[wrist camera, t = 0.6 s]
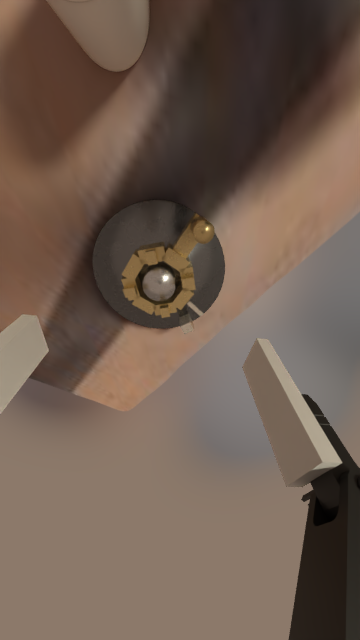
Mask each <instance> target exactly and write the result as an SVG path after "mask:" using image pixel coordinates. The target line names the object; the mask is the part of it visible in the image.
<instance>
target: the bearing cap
mask: <svg viewBox="0 0 360 640" xmlns="http://www.w3.org/2000/svg"><path fill="white" fill-rule="evenodd" d="M194 213H195V212H194V211H193V210H191V209H189V208H187V207H186V206H184V205H181V204H179V203H176V202H172V201H167V200H147V201H142V202H139V203H135V204H133V205H130V206H128V207H126V208H124V209H122V210H121V211H119V212H118V213H116V214H115V215H114V216H113V217H112V218H111V219H110V220H109V221H108V222H107V223H106V224H105V226H104V227H103V228H102V230H101V232H100V234H99V235H98V238H97V240H96V243H95V247H94V252H93V272H94V276H95V280H96V283H97V286H98V288H99V290H100V292H101V294H102V296H103V297H104V298H105V300H106V301H107V302H108V304H109V305H110V306H111V307H112V308H113V309H114V310H115V311H116V312H117V313H119V314H120V315H121V316H123V317H124V318H126V319H128V320H129V321H132V322H134V323H136V324H139V325H142V326H146V327H150V328H173V327H178V326H180V328H181V329H182V331H183V332H184V334H187V333H189V332H191V331H194V325H193V320H195V319H197V318H198V317H200V316H202V315H203V314H204V313H205V312H206V311H207V310H208V309H209V308H210V307H211V305H212V304H213V303H214V301H215V300H216V298H217V297H218V294H219V292H220V290H221V287H222V284H223V280H224V274H225V262H224V255H223V251H222V247H221V245H220V242H219V240H218V238H217V236H216V234H215V233H214V236H213V238H212V240H211V241H210V242H208V243H206V244H201V243H197V244H196V245H195V247H194V248H193V250H192V251H191V252H190V254H189V255H188V257H189V260H190V261H191V263H192V266H193V274H194V281H195V289H196V290H194V295H193V296H192V297H191V298H190V300H189V301H188V302H187V303H186V304H185V306H184V307H183V308H182V309H181V310H180V309H178V308H177V312H175V313H170V317H165V318H162V316H161V315H157V316H156V315H155V311H154V312H153V313H152V315H151V314H149V313H147V312H145V311H143V310H142V309H140V308H138V307H136V306H134V305H132V302H133V300H130V301H129V300H128V297H127V298H125V295H124V292H123V288H124V286H123V283H122V281H121V279H122V277H123V275H121V274H122V273H123V271H124V269H125V267H126V266H127V264H128V262H129V260H130V259H131V257H132V255H133V253H134V252H135V250H136V249H139V247H140V246H142V245H147V244H153V243H158V242H164V243H165V248H166V247H167V245H168V244H169V243H170V244H172V245H173V244H174V243H175V241H176V240H177V238H178V237H179V235H180V234H181V232H182V231H183V229H184V228H185V226H186V225H187V223H188V222H189V220H190V219H191V217H192V216H193V214H194ZM138 276H139V279H140V283H141V286H142V289H143V291H144V293H145V294H146V295H147V296H148V297H149V298H150V299H152V300H156V301H164V300H167V299H168V298H170V297H171V296H172V295H173V293H174V292H175V290H176V289H177V288H178V286H179V285H180V284H181V276H180V272H179V271H178V270H176V269H175V268H173V267H172V266H170V265H169V264H167V263H166V262H165V261H160V262H158V264H154V265H148V264H144V265H143V267H142V269H141V270H140V272H139V273H138Z"/></svg>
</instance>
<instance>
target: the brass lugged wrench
mask: <svg viewBox="0 0 360 640" xmlns="http://www.w3.org/2000/svg"><path fill="white" fill-rule="evenodd" d="M213 236H214V227H213V225H212V224H211V223H210V222H209V221H207V220H206V219H205V218H204V217H202V216H199V215H198V214H197V213H196V212H195V213H194V214H193V216H192V217H191V219H190V220H189V222H188V223H187V225H186V226H185V228H184V229H183V231H182V232H181V234H180V235H179V237H178V238H177V240H176V241H175V243H174V244H173V245H172V244H170V243H169V244H168V245H167V247H166V248H165V243H164V242H158V243H153V244H147V245H142V246H140V247H139V249H136V250H135V252H134V253H133V255H132V257H131V259H130V260H129V262H128V264H127V266H126V267H125V269H124V271H123V273H122V274H121V275H123V277H122V279H121V281H122V283H123V286H124V288H123V292H124V295H125V298H127V297H128V300H129V301H130V300H133V302H132V305H134V306H136V307H138V308H140V309H142V310H143V311H145V312H147V313H149V314H151V315H152V313H153V312H154V311H155V315H156V316H157V315H161V316H162V318H165V317H170V313H175V312H177V308H178V309H180V310H181V309H182V308H183V307H184V306H185V304H186V303H187V302H188V301H189V300H190V298H191V297H192V296H193V295H194V290H196V289H195V281H194V274H193V266H192V263H191V261H190V260H189V257H188V255H189V254H190V252H191V251H192V250H193V248H194V247H195V245H196V244H197V243H201V244H206V243H208V242H210V241H211V240H212V238H213ZM160 261H165V262H166V263H167V264H169V265H170V266H172V267H173V268H175V269H176V270H178V271H179V272H180V276H181V284H180V285H179V286H178V288H177V289H176V290H175V292H174V293H173V295H172V296H171V297H170V298H168V299H167V300H164V301H156V300H152V299H150V298H149V297H148V296H147V295H146V294H145V293H144V291H143V289H142V286H141V283H140V279H139V276H138V273H139V272H140V270H141V269H142V267H143V265H144V264H148V265H154V264H158V262H160Z"/></svg>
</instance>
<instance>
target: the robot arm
mask: <svg viewBox="0 0 360 640" xmlns="http://www.w3.org/2000/svg"><path fill="white" fill-rule="evenodd" d="M48 351H49V349H48V347H47V344H46V341H45V338H44V335H43V332H42V329H41V326H40V323H39V320H38V317H37V316H35V315H25V314H22V315H21V316H20V317H19V318H17V319H16V320H15V321H14V322H13V323H11V324H10V325H9V326H8V327H7V328H6V329H4V330H3V331H2V332H1V333H0V414H1V413H2V411H3V410H4V409H5V407H6V406H7V405H8V403H9V402H10V401H11V400H12V398H13V397H14V396H15V394H16V393H17V392H18V390H19V389H20V388H21V387H22V385H23V384H24V383H25V381H26V380H27V379H28V377H29V376H30V375H31V373H32V372H33V371H34V370H35V368H36V367H37V366H38V364H39V363H40V362H41V360H42V359H43V358H44V356H45V355H46V354H47V353H48ZM242 368H243V370H244V373H245V376H246V378H247V381H248V384H249V387H250V389H251V392H252V395H253V397H254V400H255V403H256V406H257V408H258V411H259V414H260V416H261V419H262V421H263V425H264V427H265V430H266V433H267V435H268V438H269V441H270V444H271V446H272V449H273V452H274V454H275V457H276V460H277V463H278V465H279V468H280V471H281V473H282V476H283V479H284V481H285V484H286V486H288V487H303V486H305V485H307V484H308V483H311V485H312V487H313V489H314V490H312V491H310V492H309V493H307V494H305V495H303V497H302V499H301V500H303V501H304V502H305V501H307V500H309V499H310V503H309V504H308V505H309V509H308V516H307V522H306V529H305V535H304V542H303V549H302V555H301V562H300V569H299V575H298V582H297V588H296V595H295V602H294V609H293V615H292V621H291V628H290V635H289V640H360V468H359V467H358V466H357V465H356V463H355V462H354V461H353V459H352V457H351V456H350V454H349V453H348V451H347V450H346V448H345V447H344V445H343V444H342V442H341V441H340V439H339V438H338V436H337V434H336V433H335V431H334V430H333V428H332V427H331V426H330V423H329V422H328V420H327V419H326V417H324V414H323V413H322V411H321V410H320V408H319V407H318V405H317V404H316V403H315V402H314V401H313V400H312V399H311V398H310V397H309V396H308V395H305V394H301V393H300V392H299V390H298V388H297V387H296V385H295V383H294V382H293V380H292V378H291V377H290V375H289V373H288V372H287V370H286V368H285V367H284V365H283V363H282V362H281V360H280V358H279V357H278V355H277V353H276V352H275V350H274V348H273V347H272V345H271V343H270V342H269V340H268V339H259V338H257V339H256V341H255V343H254V345H253V347H252V349H251V351H250V353H249V355H248V357H247V359H246V361H245V363H244V365H243V367H242Z"/></svg>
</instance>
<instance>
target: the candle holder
mask: <svg viewBox="0 0 360 640" xmlns="http://www.w3.org/2000/svg"><path fill="white" fill-rule="evenodd" d="M46 2H47V3H48V4H49V6H50V7H51V8H52V10H53V11H54V12H55V14H56V15H57V16H58V18H59V19H60V20H61V22H62V23H63V24H64V26H65V27H66V28H67V30H68V31H69V32H70V34H71V35H72V36H73V37H74V39H75V40H76V41H77V43H78V44H79V45H80V47H81V48H82V49H83V50H84V52H85V53H86V54H87V55H88V56H89V57H90V58H91V59H92V60H93V61H94V62H95V63H96V64H97V65H99V66H100V67H102V68H104V69H106V70H109V71H113V72H120V71H124V70H127V69H128V68H130V67H131V66H133V65H134V64H135V63H136V61H137V60H138V59H139V57H140V55H141V54H142V52H143V49H144V47H145V44H146V40H147V36H148V30H149V18H150V3H149V0H46Z"/></svg>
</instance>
